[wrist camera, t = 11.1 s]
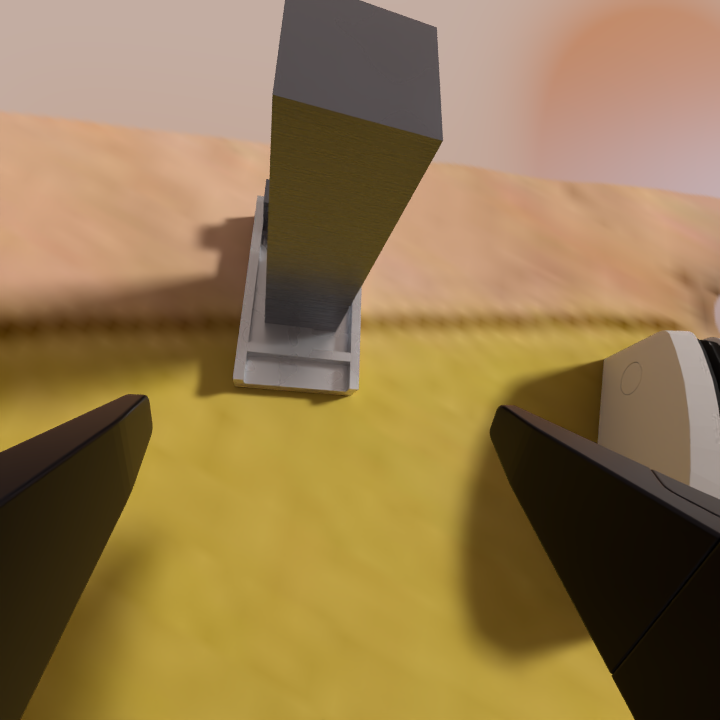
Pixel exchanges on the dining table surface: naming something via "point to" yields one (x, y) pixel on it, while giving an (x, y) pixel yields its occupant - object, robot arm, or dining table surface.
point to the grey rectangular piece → (291, 336)
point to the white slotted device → (666, 407)
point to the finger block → (343, 150)
